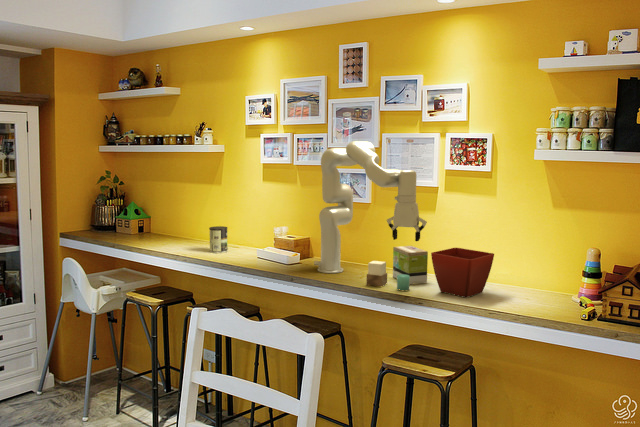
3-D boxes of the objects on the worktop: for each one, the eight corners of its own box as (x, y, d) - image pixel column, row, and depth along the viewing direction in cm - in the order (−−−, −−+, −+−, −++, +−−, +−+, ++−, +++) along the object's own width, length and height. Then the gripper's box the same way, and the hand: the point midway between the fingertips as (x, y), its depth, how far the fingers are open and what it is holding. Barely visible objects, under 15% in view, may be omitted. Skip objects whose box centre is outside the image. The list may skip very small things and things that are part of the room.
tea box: (391, 277, 258) (392, 246, 256) (410, 276, 261) (411, 245, 259) (408, 284, 244) (409, 251, 242) (427, 283, 247) (428, 250, 246)
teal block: (395, 290, 234) (395, 276, 233) (399, 287, 239) (399, 273, 238) (407, 291, 232) (407, 277, 231) (410, 288, 236) (411, 275, 236)
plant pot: (468, 301, 218) (470, 259, 216) (428, 292, 231) (429, 252, 229) (493, 293, 231) (495, 253, 229) (454, 284, 244) (455, 247, 243)
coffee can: (225, 249, 326) (225, 225, 324) (229, 252, 316) (229, 228, 315) (208, 250, 322) (207, 226, 320) (211, 253, 312) (211, 228, 311)
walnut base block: (366, 285, 242) (366, 274, 241) (372, 282, 248) (372, 271, 248) (381, 287, 239) (381, 276, 238) (387, 284, 245) (387, 273, 245)
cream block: (368, 274, 242) (368, 263, 241) (373, 271, 247) (373, 260, 246) (380, 275, 239) (381, 264, 238) (385, 273, 244) (386, 262, 244)
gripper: (384, 199, 232) (383, 239, 234) (424, 201, 225) (423, 242, 226) (390, 198, 239) (389, 237, 241) (429, 199, 231) (428, 240, 233)
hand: (406, 240), depth 234 cm, fingers open, 9 cm apart
